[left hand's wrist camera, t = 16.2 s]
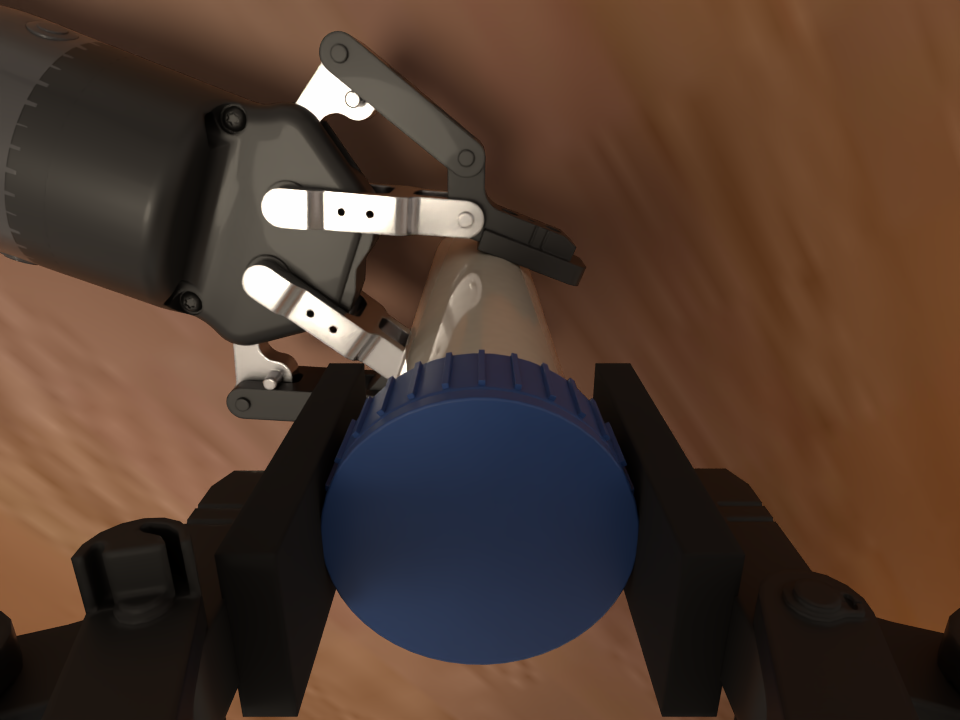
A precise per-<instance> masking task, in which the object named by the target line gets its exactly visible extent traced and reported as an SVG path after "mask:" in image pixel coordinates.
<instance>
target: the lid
mask: <svg viewBox="0 0 960 720" xmlns="http://www.w3.org/2000/svg"><path fill="white" fill-rule="evenodd" d="M334 462H335V463H334V465H333V467H332V470H331V472H330V475H329V477H328V479H327V482H326V484H325V491H327V493H326V495H325V500H324V504H323V508H322V512H321V534H322V543H323V553H324V561H325V565H326V568H327V570H328V573H329V575H330V578H331V580H332V582H333V584H334V586H335V588H336V589H337V591H338V593H339V595H340V596H341V598H342V599H343V600H344V602H345V603H346V604H347V605H348V607H349V608H350V609H351V611H352V612H353V613H354V614H355V615H356V616H357V617H358V618H359V619H360V620H361V621H362V622H363V623H364V624H366V625H367V626H368V627H370V628H371V629H372V630H374V631H375V632H376V633H377V634H379V635H380V636H382V637H384V638H385V639H387V640H389V641H390V642H392V643H394V644H395V645H398V646H400V647H402V648H404V649H406V650H408V651H411V652H413V653H416V654H419V655H422V656H425V657H428V658H432V659H436V660H441V661H445V662H452V663H460V664H477V665H488V664H500V663H508V662H514V661H519V660H524V659H528V658H531V657H534V656H538V655H541V654H544V653H546V652H549V651H551V650H553V649H556V648H558V647H560V646H562V645H564V644H566V643H568V642H569V641H571V640H573V639H575V638H576V637H578V636H579V635H581V634H582V633H583V632H585V631H586V630H588V629H589V628H590V627H592V626H593V625H594V624H595V623H596V622H597V621H598V620H599V619H600V618H601V617H603V616H604V614H605V613H606V612H607V611H608V610H609V609H610V607H611V606H612V605H613V604H614V603H615V601H616V600H617V598H618V597H619V595H620V594H621V592H622V591H623V589H624V588H625V585H626V583H627V581H628V579H629V577H630V575H631V572H632V570H633V566H634V563H635V558H636V549H637V540H638V529H639V516H638V510H637V505H636V500H635V497H634V495H633V494H634V487H633V484H632V482H631V479H630V477H629V475H628V472H627V470H626V467H625V466H626V465H627V463H626V461H625V458H624V456H623V454H622V451H621V449H620V446H619V444H618V442H617V439H616V437H615V434H614V432H613V430H612V427H611V425H610V423H609V422H607V423H605V424H604V421H603V419H602V416H601V414H600V411H599V409H598V406H597V404H596V402H595V400H594V399H593V398H592V399H590V400H588V399H587V398H586V397H585V396H584V395H583V394H582V393H581V392H580V391H579V390H578V389H577V387H576V384H575V381H574V380H572V379H571V378H569V379H568V381H567V380H566V379H564V378H563V377H561V376H559V375H558V374H556V373H554V372H553V371H551V370H549V367H548V364H545V363H542V364H541V366H540V365H538V364H535V363H533V362H531V361H527V360H523V359H520V358H518V355H517V354H515V353H511V356H506V355H499V354H490V353H485V350H479V353H470V354H460V355H452V352H449V353H446V356H445V357H444V358H440V359H435V360H433V361H430V362H427V363H424V364H422V363H421V361H419V362H417V363H415V366H414V368H413V369H411V370H409V371H407V372H405V373H403V374H401V375H400V376H399V377H397V378H396V379H395V378H394V377H393V376H391V377H390V378H388V380H387V383H386V386H385V387H384V388H383V389H382V390H381V391H379V392H378V393H377V394H376V395H375V396H374V397H373V398H372V397H371V396H369V397H368V398H367V399H366V401H365V403H364V406H363V408H362V411H361V413H360V416H359V418H358V419H357V421H356V420H354V419H352V421H351V422H350V425H349V427H348V429H347V432H346V434H345V436H344V439H343V441H342V444H341V446H340V448H339V451H338V453H337V455H336V458H335V460H334Z"/></svg>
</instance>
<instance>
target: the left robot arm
mask: <svg viewBox="0 0 960 720" xmlns="http://www.w3.org/2000/svg"><path fill="white" fill-rule="evenodd" d="M593 399H594V400H595V402H596V404H597V406H598V409H599V411H600V414H601V416H602V419H603V421H604V424H605V423H607V422H609V423H610V425H611V427H612V430H613V432H614V434H615V437H616V439H617V442H618V444H619V446H620V449H621V451H622V454H623V456H624V458H625V461H626V463H627V465H626V466H625V467H626V470H627V472H628V475H629V477H630V479H631V482H632V484H633V487H634V494H633V495H634V497H635V500H636V505H637V510H638V516H639V529H638V540H637V549H636V558H635V563H634V566H633V570H632V572H631V575H630V577H629V579H628V581H627V583H626V585H625V588H624V592H625V595H626V599H627V602H628V605H629V609H630V612H631V615H632V619H633V622H634V625H635V628H636V632H637V635H638V638H639V642H640V645H641V648H642V652H643V655H644V658H645V662H646V665H647V668H648V671H649V675H650V678H651V681H652V685H653V688H654V691H655V695H656V698H657V701H658V705H659V708H660V711H661V714H662V717H717V711H718V706H719V700H720V695H721V689H722V686H723V688H724V691H725V693H726V695H727V698H728V700H729V702H730V705H731V707H732V709H733V712H734V714H735V717H734V720H960V608H959V609H958V610H957V611H955V612H954V613H953V614H952V615H951V616H950V617H949V620H948V623H947V626H946V629H945V632H944V633H940V632H935V631H931V630H926V629H922V628H917V627H913V626H908V625H904V624H899V623H895V622H891V621H887V620H884V619H880V618H877V617H876V616H875V614H874V612H873V611H872V609H871V608H870V607H869V605H868V604H867V602H866V601H865V600H864V598H863V597H861V596H860V595H859V594H857V593H856V592H855V591H854V590H852V589H851V588H850V587H849V586H847V585H845V584H843V583H841V582H839V581H837V580H835V579H833V578H831V577H829V576H827V575H824V574H820V573H816V572H812V571H811V570H810V568H809V567H808V565H807V564H806V563H805V561H804V560H803V559H802V557H801V556H800V554H799V553H798V552H797V550H796V549H795V548H794V546H793V545H792V543H791V542H790V541H789V539H788V538H787V537H786V535H785V534H784V532H783V531H782V530H781V528H780V527H779V526H778V524H777V523H776V522H773V517H772V516H771V515H770V513H769V512H768V510H767V509H766V508H765V506H762V502H761V501H760V499H759V498H758V497H757V495H756V494H755V492H754V491H753V490H752V488H751V487H750V486H749V484H747V483H746V482H744V481H743V480H741V479H740V478H739V477H737V476H736V475H734V474H733V473H731V472H730V471H728V470H727V469H693V467H692V465H691V464H690V462H689V460H688V459H687V457H686V455H685V454H684V452H683V450H682V449H681V447H680V445H679V444H678V442H677V440H676V439H675V437H674V435H673V434H672V432H671V430H670V429H669V427H668V426H667V424H666V422H665V421H664V419H663V417H662V416H661V414H660V412H659V411H658V409H657V407H656V406H655V404H654V402H653V401H652V399H651V397H650V396H649V394H648V392H647V391H646V389H645V387H644V386H643V384H642V382H641V381H640V379H639V377H638V376H637V374H636V372H635V371H634V369H633V367H632V366H631V364H630V363H596V364H595V379H594V393H593ZM365 401H366V384H365V370H364V363H330V364H329V365H328V367H327V368H326V370H325V372H324V373H323V375H322V377H321V378H320V380H319V382H318V383H317V385H316V387H315V388H314V390H313V392H312V393H311V395H310V397H309V398H308V400H307V402H306V403H305V405H304V407H303V408H302V410H301V412H300V413H299V415H298V417H297V418H296V420H295V422H294V423H293V425H292V427H291V428H290V430H289V431H288V433H287V435H286V436H285V438H284V440H283V441H282V443H281V445H280V446H279V448H278V450H277V451H276V453H275V455H274V456H273V458H272V460H271V461H270V463H269V465H268V466H267V468H266V470H265V471H233V472H232V473H230V474H229V475H227V476H226V477H224V478H223V479H222V480H220V481H219V482H217V483H216V484H214V485H213V486H211V488H210V489H209V490H208V492H207V493H206V495H205V496H204V497H203V499H202V500H201V502H200V503H199V504H198V508H195V510H194V511H193V513H192V514H191V515H190V517H189V518H188V520H187V524H183V523H181V522H180V521H176V520H172V519H168V518H143V519H139V520H135V521H130V522H126V523H122V524H119V525H117V526H115V527H112V528H110V529H107V530H105V531H103V532H100V533H99V534H97V535H96V536H94V537H93V538H91V539H90V540H88V541H87V542H85V543H84V544H83V545H82V546H81V547H80V548H79V549H78V550H77V552H76V553H75V554H74V555H73V556H72V558H71V561H72V564H73V568H74V571H75V575H76V579H77V582H78V586H79V590H80V593H81V597H82V600H83V604H84V608H85V611H86V615H85V618H84V620H82V621H79V622H76V623H72V624H69V625H64V626H60V627H55V628H51V629H46V630H42V631H37V632H33V633H28V634H24V635H19V636H16V633H15V630H14V627H13V624H12V621H11V619H10V618H9V617H8V616H6V615H5V614H4V613H3V612H2V611H0V720H226V714H227V712H228V710H229V707H230V705H231V702H232V700H233V698H234V695H235V693H236V691H237V688H238V691H239V697H240V703H241V708H242V714H243V717H297V716H298V713H299V710H300V707H301V703H302V700H303V697H304V693H305V690H306V687H307V683H308V680H309V677H310V674H311V670H312V667H313V664H314V660H315V657H316V654H317V650H318V647H319V644H320V640H321V637H322V634H323V631H324V627H325V624H326V621H327V617H328V614H329V611H330V607H331V604H332V601H333V597H334V594H335V591H336V588H335V586H334V584H333V582H332V580H331V578H330V575H329V573H328V570H327V568H326V565H325V561H324V553H323V543H322V534H321V512H322V508H323V504H324V500H325V495H326V493H327V491H325V484H326V482H327V479H328V477H329V475H330V472H331V470H332V467H333V465H334V463H335V462H334V460H335V458H336V455H337V453H338V451H339V448H340V446H341V444H342V441H343V439H344V436H345V434H346V432H347V429H348V427H349V425H350V422H351V421H352V419H354V420H356V421H357V419H358V418H359V416H360V413H361V411H362V408H363V406H364V403H365Z"/></svg>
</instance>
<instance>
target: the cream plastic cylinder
mask: <svg viewBox="0 0 960 720" xmlns="http://www.w3.org/2000/svg"><path fill="white" fill-rule="evenodd" d="M479 350H485V353H490V354H499V355H506V356H511V353H515V354H517V355H518V358H520V359H523V360H527V361H531V362H533V363H535V364H538V365H540V366H541V364H542V363H545V364H548V367H549V370H551V371H553V372H554V373H556V374H558V375H559V376H561V377H563V378H564V375H563V372H562V368H561V365H560V362H559V359H558V356H557V353H556V350H555V347H554V343H553V340H552V337H551V334H550V331H549V328H548V325H547V322H546V319H545V315H544V312H543V309H542V306H541V303H540V300H539V297H538V294H537V291H536V287H535V284H534V281H533V278H532V275H531V272H530V269H527V268H525V267H522V266H519V265H517V264H514V263H511V262H509V261H507V260H505V259H502V258H499V257H496V256H493V255H490V254H488V253H485V252H483V251H480V250H477V241H475V240H472V239H470V238H453V237H444V238H443V239H442V241H441V242H440V244H439V246H438V248H437V250H436V253H435V256H434V259H433V262H432V265H431V268H430V271H429V274H428V278H427V281H426V284H425V287H424V290H423V293H422V296H421V299H420V302H419V305H418V309H417V312H416V315H415V318H414V321H413V324H412V327H411V330H410V333H409V336H408V340H407V343H406V346H405V349H404V352H403V355H402V358H401V361H400V364H399V367H398V371H397V374H396V377H395V379H396V378H397V377H399V376H400V375H401V374H403V373H405V372H407V371H409V370H411V369H413V368H414V366H415V363H417V362H419V361H421V363H422V364H424V363H427V362H430V361H433V360H435V359H440V358H444V357H445V356H446V353H449V352H452V355H460V354H470V353H479ZM564 379H565V378H564Z"/></svg>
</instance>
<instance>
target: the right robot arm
mask: <svg viewBox="0 0 960 720" xmlns="http://www.w3.org/2000/svg"><path fill="white" fill-rule="evenodd" d="M319 55H320V60H321V62H322V63H321V64H320V66H319V67H318V69H317V71H316V72H315V74H314V75H313V77H312V78H311V80H310V81H309V83H308V85H307V86H306V88H305V89H304V91H303V92H302V94H301V95H300V97H299V99H298V100H297V102H296V103H295V102H292V103H291V102H279V103H274V104H261V103H257V102H254V101H251V100H248V99H245V98H243V97H240V96H238V95H235V94H233V93H230V92H228V91H225V90H223V89H220V88H218V87H215V86H213V85H210V84H207V83H205V82H202V81H200V80H197V79H195V78H192V77H190V76H187V75H185V74H182V73H180V72H177V71H175V70H172V69H170V68H167V67H164V66H162V65H159V64H157V63H154V62H152V61H149V60H147V59H144V58H142V57H139V56H137V55H134V54H132V53H129V52H127V51H124V50H122V49H119V48H116V47H114V46H111V45H109V44H106V43H103V42H101V41H98V40H96V39H93V38H91V37H88V36H86V35H83V34H81V33H78V32H76V31H73V30H71V29H68V28H66V27H63V26H61V25H58V24H56V23H53V22H51V21H48V20H46V19H43V18H41V17H38V16H35V15H32V14H29V13H26V12H24V11H20V10H17V9H13V8H10V7H6V6H2V5H0V253H1V254H3V255H4V256H6V257H8V258H10V259H13V260H16V261H19V262H23V263H27V264H32V265H40V266H43V267H45V268H48V269H51V270H54V271H57V272H60V273H63V274H66V275H69V276H71V277H74V278H78V279H80V280H83V281H86V282H89V283H92V284H95V285H98V286H101V287H103V288H106V289H109V290H112V291H115V292H118V293H121V294H124V295H126V296H129V297H132V298H135V299H138V300H141V301H144V302H146V303H149V304H152V305H155V306H158V307H161V308H164V309H168V310H172V311H177V312H181V313H186V314H190V315H193V316H196V317H198V318H199V319H201V320H203V321H204V322H206V323H207V324H208V325H210V326H211V327H212V328H213V329H214V330H215V331H216V332H217V333H218V334H219V335H220V336H221V337H223V338H224V339H225V340H227V341H229V342H231V343H233V346H234V359H235V372H236V386H235V387H234V389H233V390H232V391H231V392H230V393H229V395H228V397H227V407H228V409H229V410H230V412H231V413H232V414H234V415H235V416H237V417H239V418H243V419H259V420H277V421H294V422H295V420H296V418H297V417H298V415H299V413H300V412H301V410H302V408H303V407H304V405H305V403H306V402H307V400H308V398H309V397H310V395H311V393H312V392H313V390H314V388H315V387H316V385H317V383H318V382H319V380H320V378H321V377H322V375H323V373H324V372H325V370H326V367H309V366H298V364H297V362H296V360H295V359H294V358H293V357H292V356H290V355H289V354H286V353H281V352H278V351H276V350H274V349H273V348H272V347H271V346H270V345H269V343H268V341H272V340H275V339H279V338H283V337H287V336H291V335H295V334H299V333H303V332H306V331H307V332H308V333H310V334H311V335H313V336H314V337H316V338H317V339H319V340H320V341H321V342H323V343H324V344H326V345H327V346H329V347H330V348H332V349H333V350H335V351H336V352H338V353H339V354H341V355H342V356H344V357H345V358H347V359H350V360H358V361H361V362H363V363H364V364H366V365H367V366H369V367H370V368H372V369H373V370H365V384H366V399H367V398H368V397H369V396H371V397H372V398H373V397H374V396H375V395H376V394H377V393H378V392H379V391H381V390H382V389H383V388H384V387H385V386H386V383H387V380H388V378H390V377H391V376H393V377H394V378H395V377H396V374H397V371H398V367H399V364H400V361H401V358H402V355H403V352H404V349H405V346H406V343H407V340H408V336H409V333H410V329H408V328H407V327H405V326H404V325H403V324H401V323H400V322H398V321H397V320H396V319H394V318H393V317H391V316H390V315H389V314H388V313H387V311H386V310H385V308H384V307H383V306H382V305H381V304H380V303H379V302H377V301H376V300H374V299H373V298H372V297H370V296H369V295H367V294H366V293H364V292H363V291H362V287H363V284H364V281H365V271H366V257H367V255H368V254H369V252H370V251H371V249H372V248H373V246H374V245H375V243H376V242H377V240H378V238H379V235H380V234H381V235H393V236H407V235H428V236H440V237H453V238H470V239H472V240H475V241H477V250H480V251H483V252H485V253H488V254H490V255H493V256H496V257H499V258H502V259H505V260H507V261H509V262H511V263H514V264H517V265H519V266H522V267H525V268H527V269H530V270H532V271H535V272H538V273H540V274H543V275H546V276H548V277H551V278H553V279H556V280H559V281H561V282H564V283H567V284H569V285H573V286H578V284H579V282H580V280H581V277H582V275H583V273H584V271H585V269H586V266H585V265H584V263H583V262H582V260H581V259H580V258H578V257H577V256H575V255H573V254H574V251H575V249H576V246H575V245H574V244H573V242H572V241H571V240H570V239H569V238H568V237H567V236H566V235H565V234H564V233H563V232H562V231H561V230H560V229H558V228H555V227H553V226H550V225H547V224H545V223H542V222H540V221H537V220H534V219H532V218H530V217H527V216H525V215H522V214H519V213H517V212H514V211H512V210H509V209H507V208H504V207H502V206H499V205H497V204H495V203H494V202H493V201H492V200H490V198H489V197H488V195H487V193H486V191H485V150H484V147H483V145H482V143H481V142H480V141H479V140H478V139H477V138H476V137H475V136H473V135H472V134H471V133H470V132H469V131H467V130H466V129H465V128H464V127H463V126H462V125H460V124H459V123H458V122H457V121H456V120H454V119H453V118H452V117H451V116H450V115H448V114H447V113H446V112H445V111H444V110H442V109H441V108H440V107H439V106H438V105H436V104H435V103H434V102H433V101H432V100H430V99H429V98H428V97H427V96H426V95H425V94H423V93H422V92H421V91H420V90H419V89H417V88H416V87H415V86H414V85H413V84H411V83H410V82H409V81H408V80H407V79H405V78H404V77H403V76H402V75H401V74H399V73H398V72H397V71H396V70H395V69H393V68H392V67H391V66H390V65H389V64H388V63H386V62H385V61H384V60H383V59H382V58H380V57H379V56H378V55H377V54H376V53H374V52H373V51H372V50H371V49H370V48H368V47H367V46H366V45H365V44H363V43H362V42H360V41H359V40H357V39H355V38H354V37H352V36H351V35H349V34H347V33H345V32H342V31H334V32H331V33H329V34H328V35H326V36H325V37H324V38H323V40H322V42H321V44H320V48H319ZM377 112H379V113H380V114H382V115H383V116H384V117H385V118H386V119H388V120H389V121H390V122H391V123H393V124H394V125H395V126H396V127H398V128H399V129H400V130H401V131H402V132H404V133H405V134H406V135H407V136H409V137H410V138H411V139H412V140H413V141H415V142H416V143H417V144H418V145H420V146H421V147H422V148H423V149H425V150H426V151H427V152H428V153H429V154H431V155H432V156H433V157H434V158H436V159H437V160H438V161H439V162H440V163H442V164H443V165H444V166H445V167H447V168H448V191H445V190H433V189H422V188H418V187H413V186H404V185H392V184H380V183H369V182H368V181H367V179H366V178H365V176H364V175H363V174H362V172H361V171H360V169H359V168H358V166H357V165H356V163H355V162H354V160H353V159H352V158H351V156H350V155H349V153H348V152H347V150H346V149H345V147H344V146H343V144H342V143H341V142H340V140H339V139H338V137H337V136H336V134H335V133H334V131H333V130H332V129H331V127H330V126H329V124H328V123H327V120H328V118H330V117H331V116H332V115H334V114H337V113H340V114H343V115H345V116H347V117H348V118H350V119H353V120H367V119H370V118H372V117H373V116H374V115H375V114H376V113H377ZM333 326H335V327H336V328H334V327H333Z"/></svg>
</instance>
